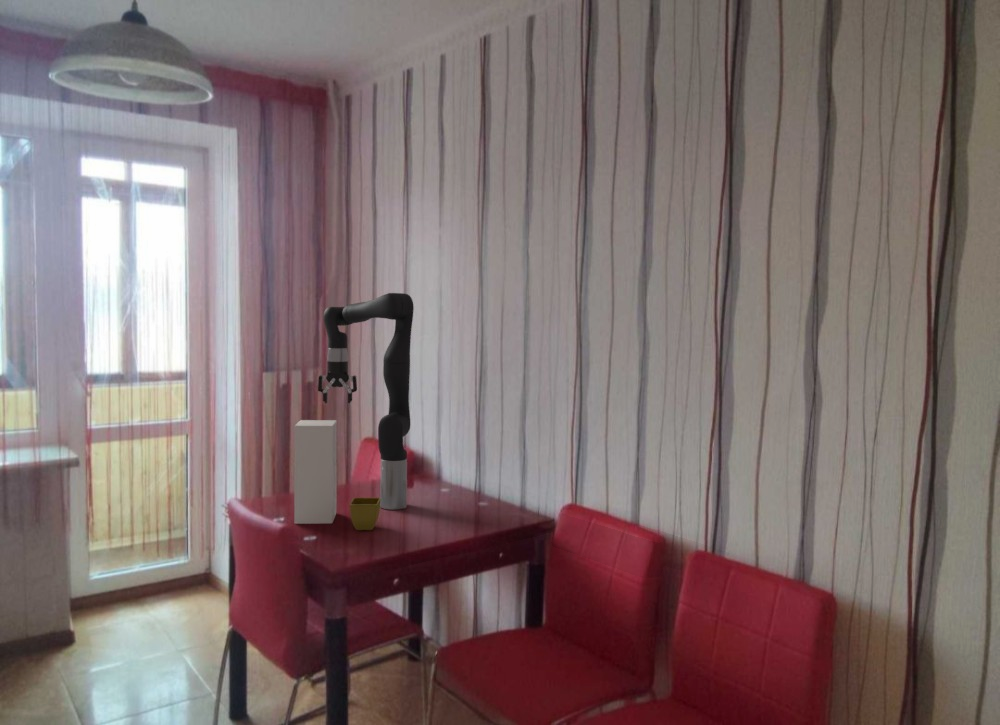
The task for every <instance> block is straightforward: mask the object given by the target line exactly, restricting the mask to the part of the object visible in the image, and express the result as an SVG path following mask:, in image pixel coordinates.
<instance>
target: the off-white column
mask: <svg viewBox="0 0 1000 725" xmlns="http://www.w3.org/2000/svg"><path fill="white" fill-rule="evenodd" d="M337 422H338V420H336V419H325V420H323V419H322V420H321V419H320V420H319V419H316V420H315V419H314V420H313V419H301V420H299V421H298V422H297V423H296V424H295V425H294V427H293V428H294V432H293V433H294V440H293V442H294V444H293V445H294V446H293V447H294V453H293V454H294V461H293V462H294V465H293V466H294V471H293V472H294V487H293V488H294V505H293V506H294V517H293V518H294V522H293V523H294V524H295V525H299V524H300V525H303V524H305V525H307V524H309V525H311V524H315V525H316V524H333V522H334V520H335V518H336V515H337V475H338V474H337V473H338V472H337V466H338V465H337V460H338V459H337V453H338V452H337V450H338V449H337V445H338V442H337V438H338V436H337V430H338V429H337V428H338V424H337Z"/></svg>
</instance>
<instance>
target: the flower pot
mask: <svg viewBox="0 0 1000 725" xmlns="http://www.w3.org/2000/svg"><path fill="white" fill-rule="evenodd" d="M380 501H381V498H380V497H353V498H352V499H351V502H350V503H349V511H350V512H349V513H350V517H351V518H350V519H351V523H352V524H353V527H354V528H355V530H356V531H372V530H374V527H375V526H376V524H377V521H378V520H379V515H380V512H381V511H380V509H381V507H380Z"/></svg>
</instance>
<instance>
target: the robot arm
mask: <svg viewBox="0 0 1000 725" xmlns="http://www.w3.org/2000/svg"><path fill="white" fill-rule="evenodd" d="M414 308H415V307H414V302H413V298H412V297H411V296H410V294H408V293H400V292H388V293H385V294H383V295H381V296H379V297H377V298H374V299H372V300H368V301H362V302H354V303H350V304H347V305H346V306H328V307H326V308H325V310H324V312H323V324H324V326H325V329H326V334H327V358H326V360H327V362H326V363H327V367H326V368H327V369H326V370H327V373H326V375H323V374H321V375H319V376H318V383H317V384H318V385H317V392H320V393H322V401H323V402H324V404H328V391H329V389H330V388H331V387H333V388H344V389H345V390H346V391H347V392H348V393H347V404H351V402H352V401H353V394H354V393H355V392H357V390H358V384H357V375H349V352H348V334H347V333H345V332H343V331H340V330H339V326H340V327H341V326H343V327H345V326H350V325H352V324H357V323H364V322H366V321H369V320H371V319H375V318H376V319H385V320H386V319H387V320H391V321H392V320H393V321H395V322H394V323H395V327H394V333H393V336H392V339H391V340H390V343H389V344H388V346H387V348H386V349H385V352H384V356H383V372H382V374H383V379H384V383H385V384H384V385H385V386H386V391H387V394H388V398H389V401H388V402H389V404H388V414H386V415H384V416H382V418H380V420H379V423H378V427H377V432H378V433H377V438H378V450H379V451H378V452H379V453H380V489H379V490H380V494H379V495H380V497H379V498H381V501H380V509H381V508H382V509H384V510H392V511H393V510H402V509H407V505H408V495H407V494H408V478H407V477H408V451H407V450H406V449H405V447H404V437H405V436H406V435H407V434H408V433H409V431H410V429H411V415H410V412H411V411H410V401H409V400H410V375H411V374H410V372H411V370H410V368H411V341H412V340H411V339H412V338H411V335H412V327H413V320H414V319H413V318H414V310H415V309H414ZM325 379H326V381H327V382H328V384H327V385H326V386H325V387H324V388H323V382H325ZM349 380H350V382H352V388H351V387H350V386H349V384H348V383H347V382H348V381H349Z"/></svg>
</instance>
